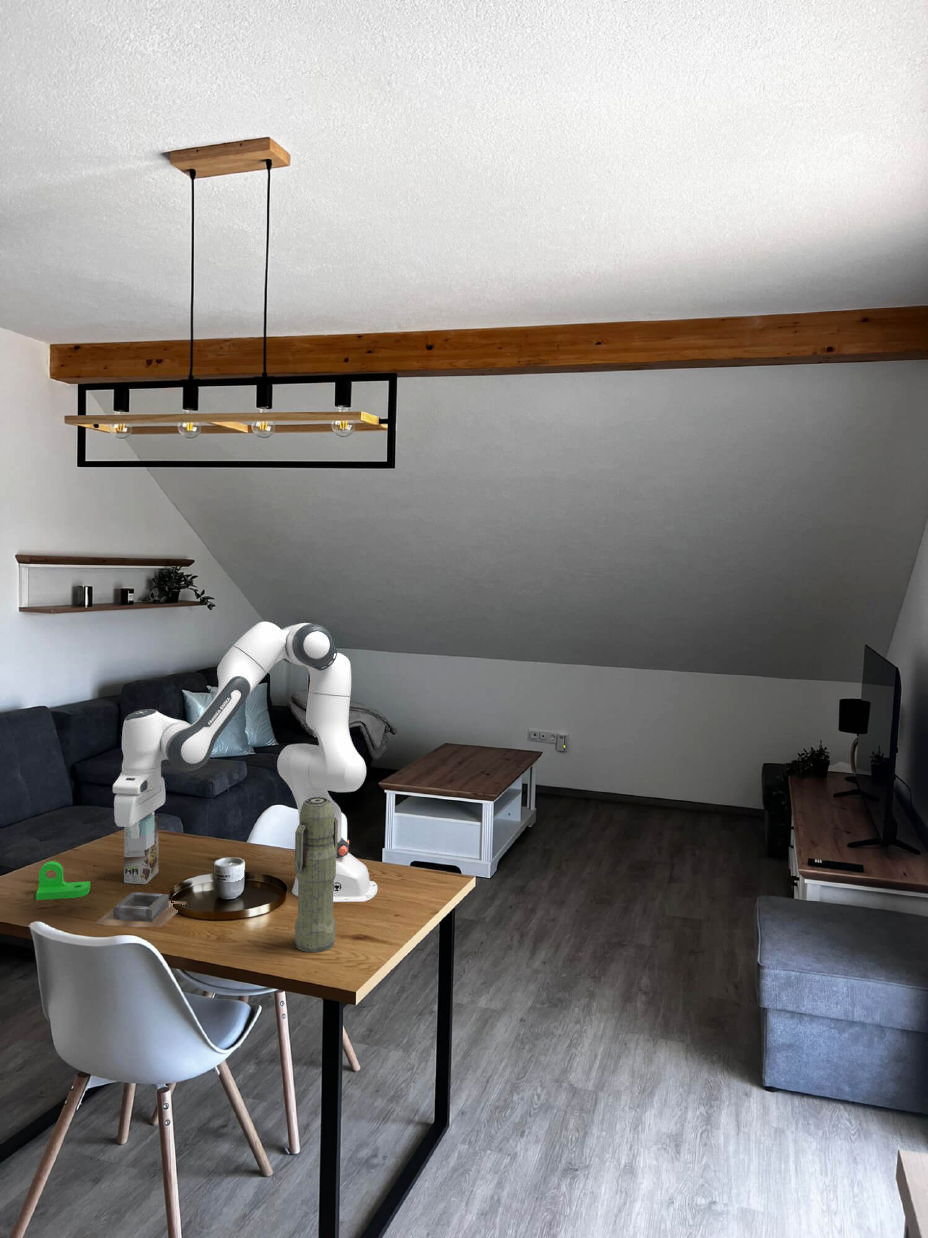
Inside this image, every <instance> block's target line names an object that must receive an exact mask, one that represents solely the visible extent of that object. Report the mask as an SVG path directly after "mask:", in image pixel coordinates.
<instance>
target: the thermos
mask: <svg viewBox="0 0 928 1238" xmlns="http://www.w3.org/2000/svg"><path fill="white" fill-rule="evenodd" d="M294 833H295V835H294V836H295V837H294V839H295V841H294V867H295V870H294V872H295V873H296V874H295V878H296V877H297V880H298V896H297V918H296V919H295V920H296V921H295V925H294V943H295V947H296V948H297V949H298V950H300V951H302V952H306V953H321V952H326V951H328V950H330V949H332V948H333V947H334V945H335V942H336V920H335V918H334V917H335V916H334V902H333V884H334V879H335V876H336V857H337V841H338V821H337V819H336V818H335V817H334V810H333V807H332V803H331V801H330V800H328V799H327V798H323V797H312V798H309V799H307V800H305V801H304V803H303V805H302V808H301V812H300V824H299V823H298V825H297V828H296V830H295V832H294Z"/></svg>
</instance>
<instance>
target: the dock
mask: <svg viewBox="0 0 928 1238" xmlns="http://www.w3.org/2000/svg"><path fill="white" fill-rule="evenodd" d="M171 901H172V902H174V903H171ZM173 904H182V905H185V904H186V905H187V901H178V900H170V898H169V894H167V893H154V892H153V893H151V892H136V891H131V892H130V893H128V894H127V895H126V896H125V897H124V898H123V899H122V900H120V901H119V902H118V903H116V905H115V906H113V907H112V908H111V909H110V910H109V911H108V912H106V913H105V914H104V915H103V916H102V917H101V918H99V919H98V920H97V921H96V922H95V923H93V925H96V926H110V927H111V926H113V927H126V928H127V927H130V928H155V927H156V928H159V927H163V926H164V925H166V923H167V922H169V921H170V920H171V919H172V918H173V917H175V915H176V914H178V913H179V912H178V910H176V909H175V908H174V907H173Z"/></svg>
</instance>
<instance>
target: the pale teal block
mask: <svg viewBox="0 0 928 1238" xmlns="http://www.w3.org/2000/svg"><path fill="white" fill-rule="evenodd" d="M138 826H139V830H141V836H140V837H139V838H137V839H133V838H131V830H130V828H129V827H128V849H139V850H147V849H148V848H149V847H151V846H152V845H153V844H154V816H151V815H147V816H146V817H144V818H143V819H141V820H140V821H139V825H138Z"/></svg>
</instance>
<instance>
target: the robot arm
mask: <svg viewBox="0 0 928 1238" xmlns="http://www.w3.org/2000/svg"><path fill="white" fill-rule="evenodd" d="M281 660H282V661H285V662H287V663H289V664H293V665H297V666H301V667H306V668H307V671H308V673H309V680H310V681H309V687H308V695H307V703H306V711H305V722H306V724H307V726H308V727H309V728H310V729H311V730H312V731H313V732H314V734H315V736H316V738H317V742H318V745H316V744H310V743H293V744H288V745H287V746H285V747H284V748H283V749H282V750H281V751H280V754H279V755H278V758H277V764H276V765H277V766H276V767H277V772H278V774H279V776H280V777H281V778H282V779H283V780H284V782H285V783H286V785H288V788H290V790H291V792H292V795H293V797H294V800H295V803H296V807H297V811H298V825H299V824H300V812H301V808H302V805H303V803H304V801H305V800H307V799H309V798H312V797H323V798H327V799H328V800H330V801H331V803H332V807H333V810H334V817H335V818H336V819H337V821H338V841H337V857H336V876H335V879H334V884H333V903H355V902H357V903H359V902H360V903H362V902H367V901H369V900H371V899H373V898H374V897H375V896H376V895H377V893H378V890H379V889H378V885H377V883H376V882H375V881H373V880H370V875H369V870H368V867H367V865H366V864H364V862H362V861H360V860H359V859H357V858H356V857H355V856H354V855H352V854H351V853H350V852H349V848H350V847H349V845H350V840H349V839H347V841H346V840H345V839H344V838H343V837H342V820H343V819H342V818H343V817H342V816H343V815H342V810H341V808H340V806H339V805H338V804H337V802H335V800H333V799H332V797H331V796H330V794H329V792H328V791H331V792H335V793H351V792H355V791H357V790H358V789H360V788H361V786H362V785H363V784H364V782H365V779H366V777H367V766H366V762H365V760H364V758H363V757H362V756H361V755H360V754H359V752H358V751H357V749H356V747H355V746H354V743H353V741H352V737H351V735H350V733H351V732H350V727H349V715H350V702H351V693H352V667H351V666H352V665H351V662H350V660H349V658H348V657H347V656H345V655H344V654H343V653H339V652H338V650H337V648H336V646H335V643H334V639H333V636H332V635H331V633H330V631H329V630H328V629H327V628H326V627H324V626H322V625H321V624H317V623H309V622H303V623H302V622H301V623H298V624H290V625H288V626H285V627H282V628H280V627H279V626H277V625H276V624H274V623H272V622H269V621H261V622H258V623H256V624H255V625H254V626H253V627H251V628H250V629H249V630H248V631H246V632H245V633H244V634H243V635H242V636H240V638H238V640H236V641H235V642H234V644H233V645H232V646H231V648H229V649H228V650H227V651H226V653H225V654H224V655H223V657H222V659H221V660H220V662H219V664H218V666H217V669H216V671H217V673H216V675H217V679H218V687H217V692H216V695H215V696H214V697H213V699H212V700H211V701H210V703H209V704H208V705H207V707H206V708H205V709H204V711H203V712H202V713H201V715H200V716H199V717H198V718H197V720H196V721H195V722H193V723H191V724H190V723H188V722H187V721H185V720H181V719H176V718H172V717H170V716H167V715H165V714H163V713H160V712H159V711H158V710H157V709H153V708H147V709H146V708H144V709H139V710H135V711H134V712H132V713H129V714H128V715H127V716H125V718H124V721H123V723H122V724H123V726H122V735H121V750H122V754H123V760H122V764H121V771H120V774H119V776H118V778H117V779H116V780H115V782H114V783H113V784H112V793H113V794H115V796H114V801H113V807H114V808H113V812H114V816H113V817H114V822H115V823H114V824H116V827H121V828H123V827H129V828H130V830H131V838H133V839H137V838H139V837H140V836H141V830H139V826H138V825H139V821H140V820H141V819H143V818H144V817H146V816H147V815H151V816H154V815H155V811H156V810H157V809H159V808H160V807H161V806H162V807H163V805H165V802H166V785H165V784H166V783H165V779H164V777H163V776H162V761H167V760H168V761H169V763H170V764H171V765H172V766H173V767H174V768H175V769H177V770H178V771H181V772H193V771H197V770H199V769H200V768H202V767H203V766H204V765H206V764H207V762H208V761H209V759H210V757H211V755H212V753H213V750H214V748H215V747H214V746H215V744H216V742H217V740H218V739H219V736H220V735H221V734H222V733H223V731H224V730H225V728H226V727H227V726H228V725H229V723H230V722H231V721H232V719H233V718H234V716H236V715H237V713H238V711H239V710H240V708H241V707H242V705H243V704H244V703H245V701H246V700H247V698H248V697H249V696H250V694H251V693H252V691H254V689H255V688H256V687H257V685H259V683H260V682H261V681H262V680H263V679H264V678H265V677H266V675H267V674H268V673H269V672H270V670H271V669H272V668H273V666H275V665H276V664H277V663H279V662H280V661H281ZM291 893H292V894H293V895H294V896H296V897H298V880H297V877H296V876H295V880H294V883H293V887H292V890H291Z"/></svg>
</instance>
